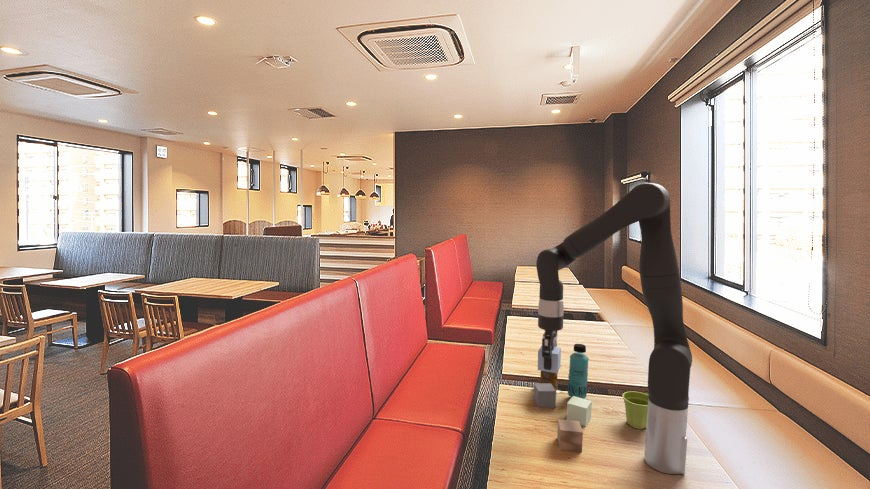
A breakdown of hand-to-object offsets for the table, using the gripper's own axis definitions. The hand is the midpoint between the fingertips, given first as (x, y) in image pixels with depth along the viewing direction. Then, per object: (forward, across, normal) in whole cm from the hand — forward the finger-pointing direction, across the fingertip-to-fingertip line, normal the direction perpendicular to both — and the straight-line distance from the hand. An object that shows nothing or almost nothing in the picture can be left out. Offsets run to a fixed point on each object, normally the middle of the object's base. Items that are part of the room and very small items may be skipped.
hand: (549, 365), depth 130 cm
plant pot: (+19, +11, -26) cm, 34 cm away
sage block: (+19, +6, -9) cm, 22 cm away
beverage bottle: (+19, +20, -7) cm, 28 cm away
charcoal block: (+19, +12, +3) cm, 22 cm away
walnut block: (+19, -10, -8) cm, 23 cm away
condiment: (+19, +22, +4) cm, 29 cm away
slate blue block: (+1, 0, 0) cm, 1 cm away
